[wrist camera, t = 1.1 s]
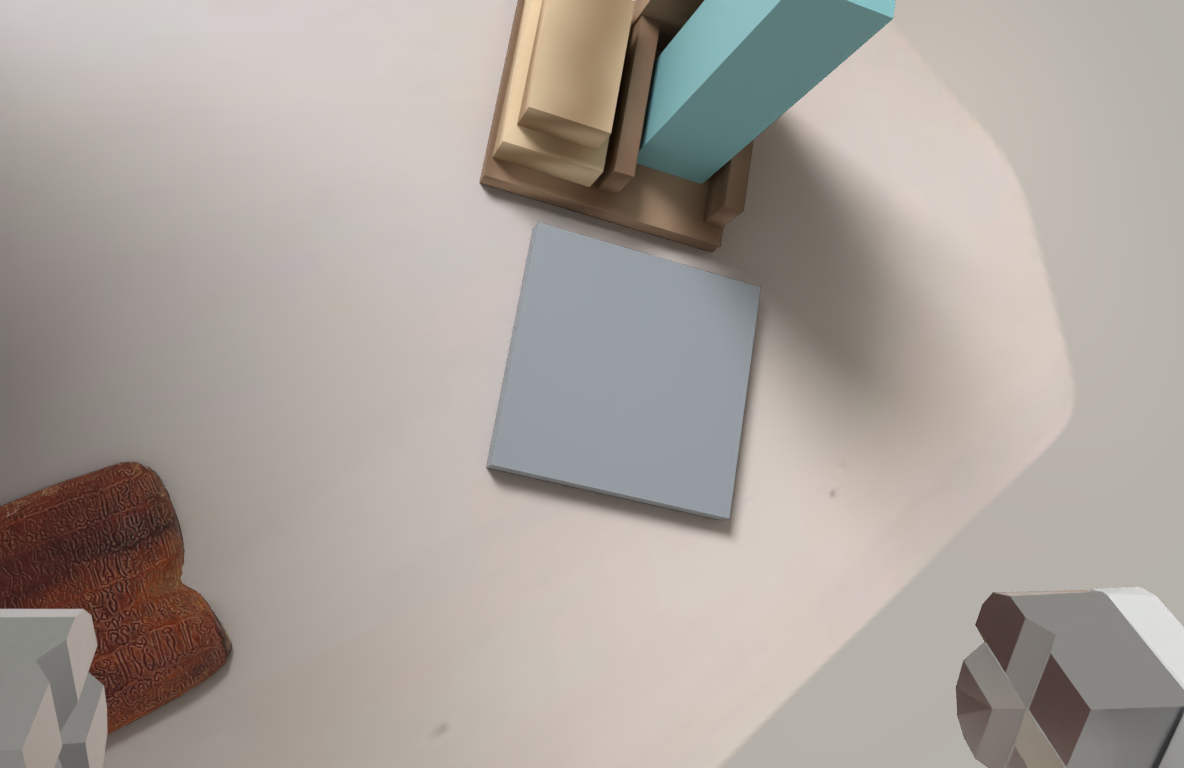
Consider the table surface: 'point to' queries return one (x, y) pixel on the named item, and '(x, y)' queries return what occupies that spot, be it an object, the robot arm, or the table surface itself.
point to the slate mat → (626, 375)
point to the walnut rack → (633, 151)
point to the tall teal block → (744, 74)
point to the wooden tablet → (115, 583)
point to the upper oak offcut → (576, 69)
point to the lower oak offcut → (531, 144)
